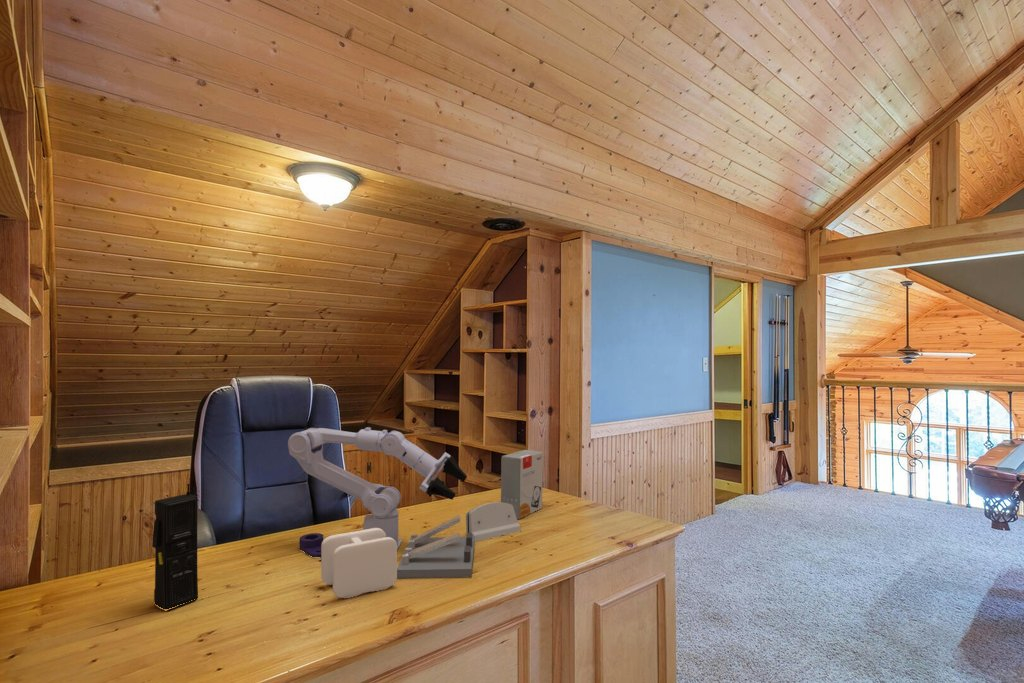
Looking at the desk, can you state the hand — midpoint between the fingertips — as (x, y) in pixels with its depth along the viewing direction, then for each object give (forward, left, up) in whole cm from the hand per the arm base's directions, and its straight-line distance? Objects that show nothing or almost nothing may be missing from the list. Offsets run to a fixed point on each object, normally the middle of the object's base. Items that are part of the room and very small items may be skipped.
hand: (460, 487), depth 147 cm
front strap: (-6, -13, -12) cm, 19 cm away
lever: (-40, 0, -17) cm, 44 cm away
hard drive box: (+19, +32, -17) cm, 41 cm away
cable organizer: (-22, -23, -17) cm, 36 cm away
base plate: (-5, -8, -17) cm, 19 cm away
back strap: (-6, -3, -11) cm, 13 cm away
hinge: (+9, +12, -17) cm, 23 cm away
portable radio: (-60, -30, -17) cm, 69 cm away
